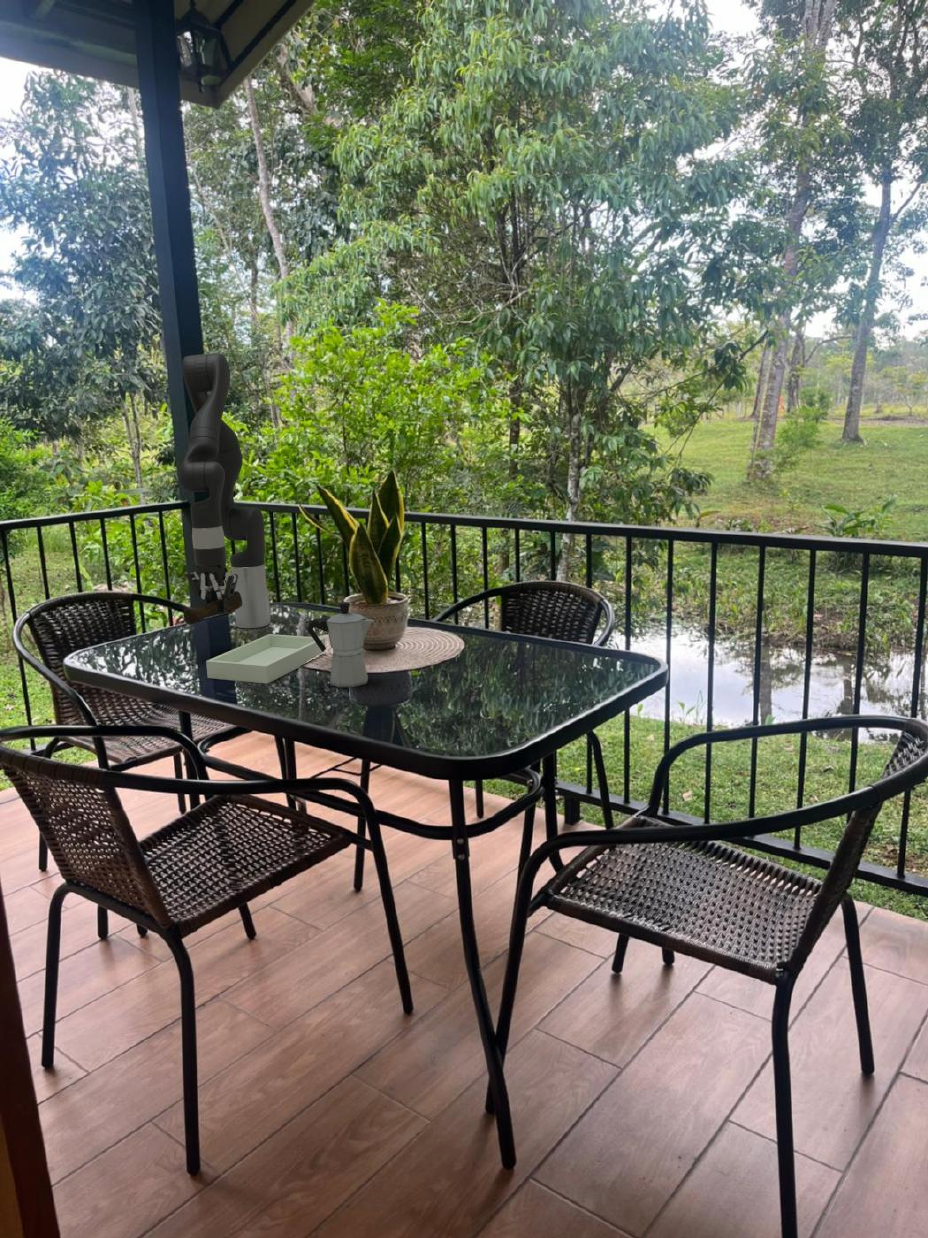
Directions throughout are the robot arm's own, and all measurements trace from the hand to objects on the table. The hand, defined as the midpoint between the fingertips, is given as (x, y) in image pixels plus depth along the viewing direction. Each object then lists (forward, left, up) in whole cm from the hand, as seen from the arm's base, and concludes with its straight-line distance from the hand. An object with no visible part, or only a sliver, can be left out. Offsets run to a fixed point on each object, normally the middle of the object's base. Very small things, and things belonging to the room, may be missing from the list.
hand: (216, 613), depth 230 cm
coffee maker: (+12, +42, -11) cm, 45 cm away
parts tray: (+5, +18, -10) cm, 21 cm away
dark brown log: (0, 0, -1) cm, 1 cm away
